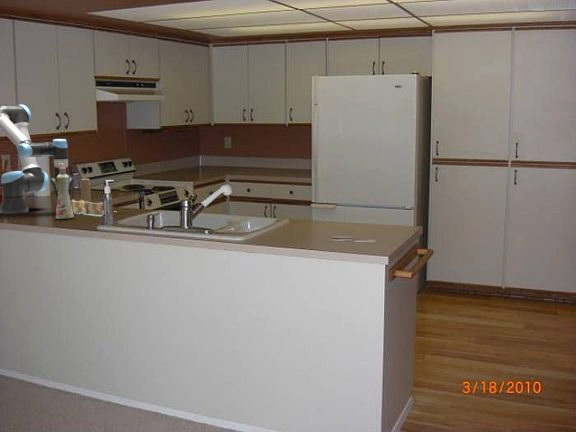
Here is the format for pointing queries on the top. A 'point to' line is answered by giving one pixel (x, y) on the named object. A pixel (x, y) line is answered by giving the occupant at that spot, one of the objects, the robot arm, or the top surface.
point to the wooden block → (85, 190)
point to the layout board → (88, 214)
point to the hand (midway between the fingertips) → (63, 208)
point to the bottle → (63, 196)
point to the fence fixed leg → (94, 208)
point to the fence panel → (78, 206)
